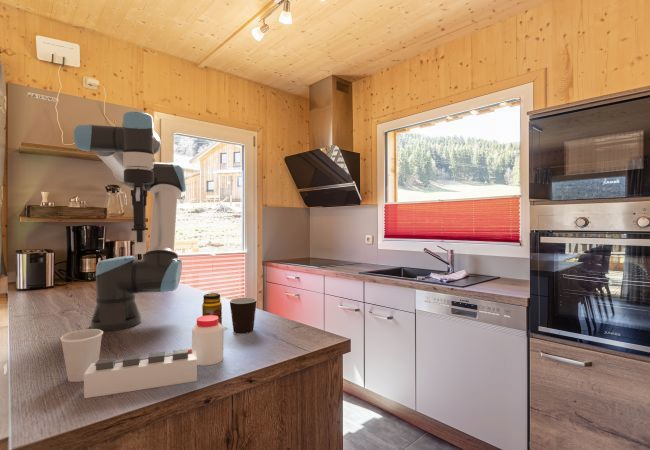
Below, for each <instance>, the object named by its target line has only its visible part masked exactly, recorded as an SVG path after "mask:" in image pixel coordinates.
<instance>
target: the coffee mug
mask: <svg viewBox="0 0 650 450" xmlns="http://www.w3.org/2000/svg"><path fill="white" fill-rule="evenodd" d="M257 301H258V300H257V298H255V297H247V296H246V297H235V298H232V299H230V300H229V305H230V314H231V315H230V316H231V320H232V321H231V322H232V331H233V333H235V334H238V335H240V334H241V335H242V334H250V333H252V332H253V331H254V328H255V327H254V326H255V319H256V310H257V309H256V308H257Z"/></svg>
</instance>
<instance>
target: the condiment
mask: <svg viewBox="0 0 650 450" xmlns="http://www.w3.org/2000/svg"><path fill="white" fill-rule="evenodd" d="M222 304H223V303H222V302H221V294H220V293H219V292H218V293H217V292H214V293H213V292H211V293H205V294H204V295H203V303H202V305H201V308H202V310H201V311H202V312H201V313H202V316H207V315H215V316H218V317H219V323H220V324H221V325H222V326H223V322H222V321H223V312H222V310H223V309H222V308H223V307H222V306H223V305H222ZM226 329H227V327H224V326H223V331H224V330H226Z"/></svg>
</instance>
